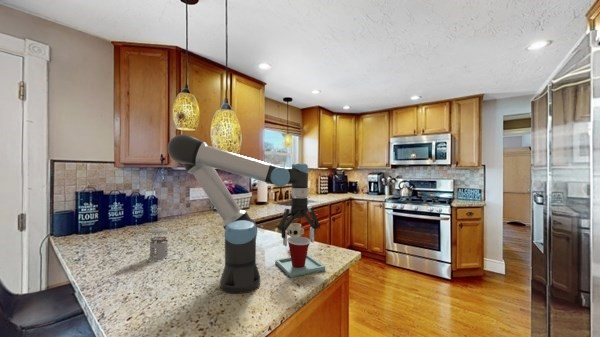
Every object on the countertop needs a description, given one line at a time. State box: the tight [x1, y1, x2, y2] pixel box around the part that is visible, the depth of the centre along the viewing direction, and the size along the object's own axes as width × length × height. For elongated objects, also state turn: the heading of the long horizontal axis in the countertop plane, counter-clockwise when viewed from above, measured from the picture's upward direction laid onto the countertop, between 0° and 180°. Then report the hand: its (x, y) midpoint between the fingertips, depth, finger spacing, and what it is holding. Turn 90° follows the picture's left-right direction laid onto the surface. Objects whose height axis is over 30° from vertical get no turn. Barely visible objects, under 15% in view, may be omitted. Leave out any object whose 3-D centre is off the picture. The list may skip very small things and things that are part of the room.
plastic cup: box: [287, 236, 312, 268], centre depth 111 cm, size 11×11×12 cm
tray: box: [274, 253, 326, 279], centre depth 111 cm, size 17×17×2 cm
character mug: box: [286, 222, 305, 237], centre depth 139 cm, size 11×7×13 cm, turn 66°
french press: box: [147, 207, 170, 262], centre depth 122 cm, size 10×12×25 cm
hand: (298, 243), depth 111 cm, fingers open, 13 cm apart
